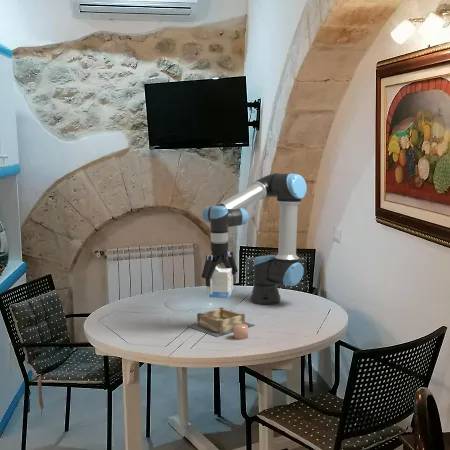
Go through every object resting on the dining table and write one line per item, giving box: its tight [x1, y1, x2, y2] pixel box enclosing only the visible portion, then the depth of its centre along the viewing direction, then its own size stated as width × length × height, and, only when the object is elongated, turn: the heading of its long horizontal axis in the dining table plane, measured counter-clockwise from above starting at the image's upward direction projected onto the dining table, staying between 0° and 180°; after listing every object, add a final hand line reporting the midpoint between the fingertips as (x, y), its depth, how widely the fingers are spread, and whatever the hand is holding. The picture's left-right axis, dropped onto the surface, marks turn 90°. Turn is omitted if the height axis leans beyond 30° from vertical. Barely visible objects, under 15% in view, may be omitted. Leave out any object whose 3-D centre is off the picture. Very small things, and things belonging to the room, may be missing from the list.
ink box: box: [208, 263, 232, 299], centre depth 264 cm, size 9×8×13 cm
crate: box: [186, 307, 256, 338], centre depth 267 cm, size 22×20×6 cm
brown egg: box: [232, 324, 249, 340], centre depth 252 cm, size 6×6×5 cm
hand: (220, 291), depth 265 cm, fingers closed on ink box, 11 cm apart
